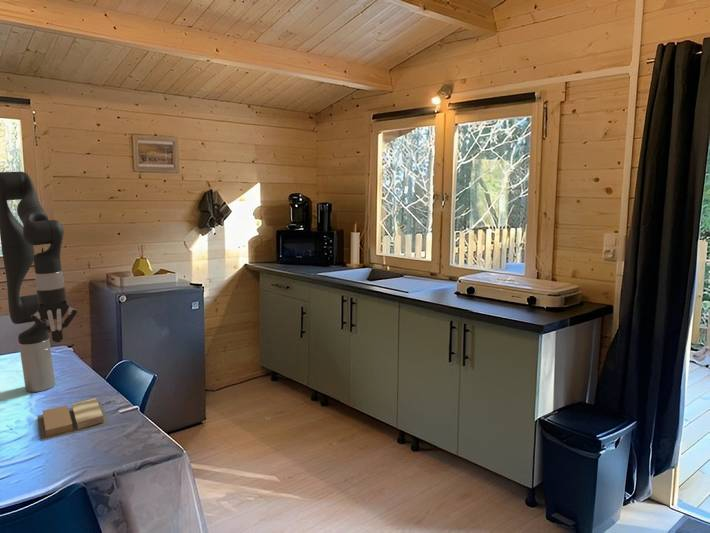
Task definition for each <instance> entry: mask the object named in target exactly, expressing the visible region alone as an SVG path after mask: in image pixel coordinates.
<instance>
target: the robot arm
mask: <svg viewBox="0 0 710 533" xmlns="http://www.w3.org/2000/svg"><path fill="white" fill-rule="evenodd" d="M18 200H19V203H18V204H17V207H16V211H17V212H16V214H17V216H18V218H19V220H20V222H22V224H21V223H20V222H19V220H18V219H16V217H15V216H14V214H13V212H12V211H11V209H10V207H9V203H8V201H18ZM64 231H65V230H64V227H63V225H62V223H61V222H59V221H58V220H56V219H49V217H48V214H47V212H46V211H45V209H44V208H43V207H42V205H41V203H40V201H39V198H38V194H37V191H36V189H35V186H34V183H33V180H32V179H31V177H30V175H29V174H28V173H27V172H24V171H0V246H1V247H0V248H1V253H2V254H1V255H2V259H3V260H2V261H3V265H4V271H5V272H4V273H5V276H6V286H7V301H8V302H7V303H8V313H9V318H10V321H11V322H12V324H14V325H22V324H26V323H27V324H28V323H32V322H34V324H33V325H32V326H31V327H29V328H28V329H26V330H24V331H22V332H21V333H19V334H18V335H17V336H18V337H17V339H18V347H19V352H20V360H21V368H22V374H23V379H24V380H23V381H24V388H25V391H26V392H28V393H36V392H37V393H38V392H43V391H45V390H46V391H47V390H49V389H51V388H53V387H55V385H56V380H55V379H56V378H55V372H54V365H53V357H52V350H51V343H50V335H49V334H51V340H52V342H55V343H56V344H57V343H61V342H62V340H63V339H64V338H63V329H65V328H68V326H70V323H71V322H72V320H73V319H74V318H75V316H76V314H77V313H78V311H77V309H76V308H73V307H71V306H70V304H69V303H68V302H67V295H66V294H67V293H66V287H65V285H66V283H65V279H64V275H63V274H64V273H63V271H62V263H61V261H62V260H61V252H62V250H61V249H62V244H63V238H64V234H65V232H64ZM41 245H49V247H48V248H47V249H46V250H45V251H41V252H37V253H36V254H35V247H34V246H41ZM32 265H34V267H33V268H34V272H35V276H34V277H35V281H34V282H35V289H36V293H35V294H28V295H23V296H20V291H21V286H22V284H23V281H24V279H25V277H26V276H27V274H28V272H29V270H30V268H31V267H32ZM66 313H67V317H66V318H65V319H64V321H63V322H62V319H63V317H65V315H66ZM54 320H55V321H56V322H55V321H54ZM48 323H49V325H48ZM55 323H56V326H55ZM49 331H50V332H51V333H49Z"/></svg>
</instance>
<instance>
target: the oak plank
mask: <svg viewBox="0 0 710 533" xmlns="http://www.w3.org/2000/svg"><path fill="white" fill-rule="evenodd" d="M98 402H99V401H98V400H97V397H93V398H90V399H86V400H82V401H78V402H74V403H72V404H71V408H72V409H73V413H74V416H75V420H76V423H77V427H78V429H80V428H84V427H87V426H91V425H95V424H98V423H102V422H104V418H103V414H102V412H101V409H100V407H99V404H98Z"/></svg>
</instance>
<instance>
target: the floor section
mask: <svg viewBox="0 0 710 533" xmlns="http://www.w3.org/2000/svg"><path fill="white" fill-rule="evenodd" d="M97 402H98V404H99V407H100V409H101V412H102V414H103V418H104V422H102V423H98V424H95V425H91V426H87V427H84V428H80V429H78V427H77V423H76V420H75V416H74V413H73V409H72V407H71V408H69V406H68V405H62V406H58V407H52V408H48V409H44V410H42V414H39V415H37V422H38V429H39V438H40V442H44V441H48V440H52V439H55V438H59V437H65V436H69V435H72V434H77V433H81V432H84V431H85V432H86V431H89V430H93V429H96V428H100V427H102V428H103V427H105V426H109V425H111V422H110V420H109V417H108V416H107V413H106V411H105V410H106V409H105V408H104V406H103V404H102V401H97Z"/></svg>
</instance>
